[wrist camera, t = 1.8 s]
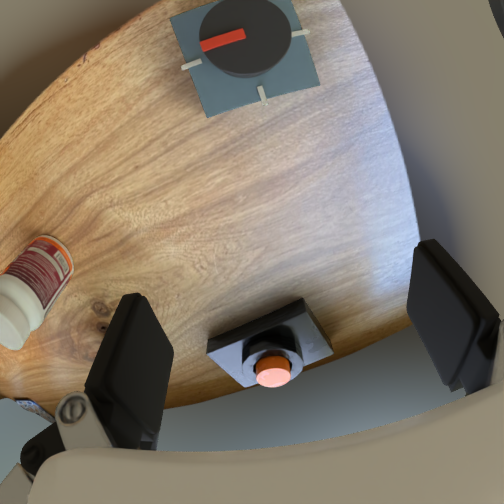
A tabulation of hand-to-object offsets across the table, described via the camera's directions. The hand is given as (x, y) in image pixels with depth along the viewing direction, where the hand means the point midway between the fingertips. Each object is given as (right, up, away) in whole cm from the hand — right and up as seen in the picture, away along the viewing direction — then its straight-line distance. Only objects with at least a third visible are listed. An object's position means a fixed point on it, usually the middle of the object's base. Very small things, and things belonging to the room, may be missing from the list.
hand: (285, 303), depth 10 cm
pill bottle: (-23, +1, +18) cm, 29 cm away
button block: (+1, -9, +24) cm, 25 cm away
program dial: (-2, +15, +6) cm, 16 cm away
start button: (+1, -10, +21) cm, 23 cm away
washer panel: (-2, +17, +9) cm, 19 cm away
